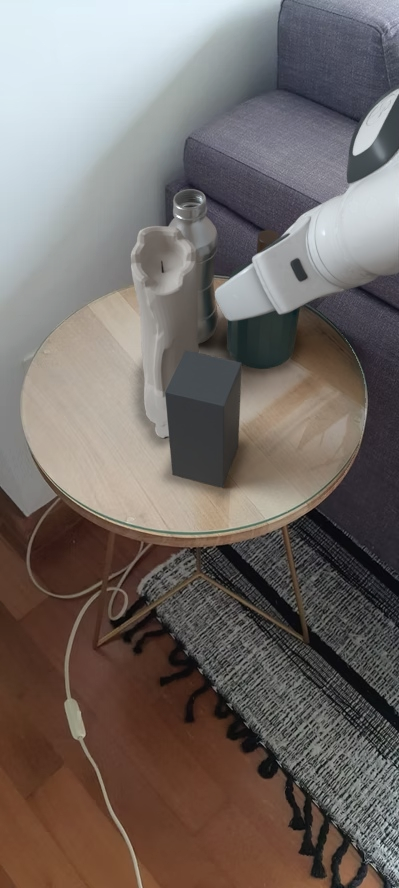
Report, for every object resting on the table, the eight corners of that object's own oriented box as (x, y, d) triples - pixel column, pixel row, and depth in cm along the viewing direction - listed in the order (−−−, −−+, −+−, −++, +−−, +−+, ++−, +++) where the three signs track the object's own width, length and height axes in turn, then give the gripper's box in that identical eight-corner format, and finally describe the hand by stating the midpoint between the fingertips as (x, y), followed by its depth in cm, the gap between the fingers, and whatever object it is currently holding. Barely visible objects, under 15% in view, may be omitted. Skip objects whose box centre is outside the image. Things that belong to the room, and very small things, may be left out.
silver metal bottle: (161, 343, 90) (149, 209, 74) (181, 310, 94) (174, 176, 78) (207, 356, 89) (205, 222, 73) (225, 322, 92) (227, 188, 77)
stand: (238, 447, 80) (241, 362, 69) (223, 488, 76) (224, 406, 65) (189, 435, 81) (185, 349, 70) (172, 475, 77) (164, 391, 66)
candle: (143, 439, 81) (125, 308, 65) (144, 355, 89) (128, 221, 73) (204, 436, 81) (201, 305, 65) (200, 352, 89) (196, 218, 73)
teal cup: (301, 329, 91) (309, 268, 84) (285, 375, 86) (292, 315, 78) (237, 315, 93) (239, 254, 85) (218, 360, 88) (218, 300, 80)
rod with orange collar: (260, 314, 90) (265, 221, 79) (284, 328, 88) (293, 235, 77) (240, 330, 88) (243, 237, 77) (264, 345, 86) (271, 252, 75)
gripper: (389, 180, 73) (312, 219, 85) (245, 261, 65) (184, 291, 77) (412, 235, 74) (333, 265, 87) (275, 321, 66) (210, 341, 79)
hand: (262, 278), depth 82 cm, fingers closed on rod with orange collar, 2 cm apart
